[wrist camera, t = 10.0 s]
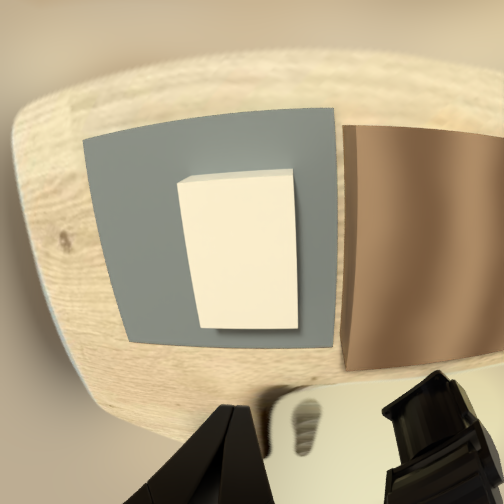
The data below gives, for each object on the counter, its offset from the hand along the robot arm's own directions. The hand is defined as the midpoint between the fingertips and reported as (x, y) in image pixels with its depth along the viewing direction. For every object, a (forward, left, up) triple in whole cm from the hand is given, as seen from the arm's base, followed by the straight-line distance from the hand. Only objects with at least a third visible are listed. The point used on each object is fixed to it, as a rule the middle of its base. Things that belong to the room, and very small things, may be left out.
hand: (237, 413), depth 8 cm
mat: (-2, +3, -13) cm, 13 cm away
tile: (-1, +1, -11) cm, 11 cm away
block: (+11, -10, -13) cm, 19 cm away
